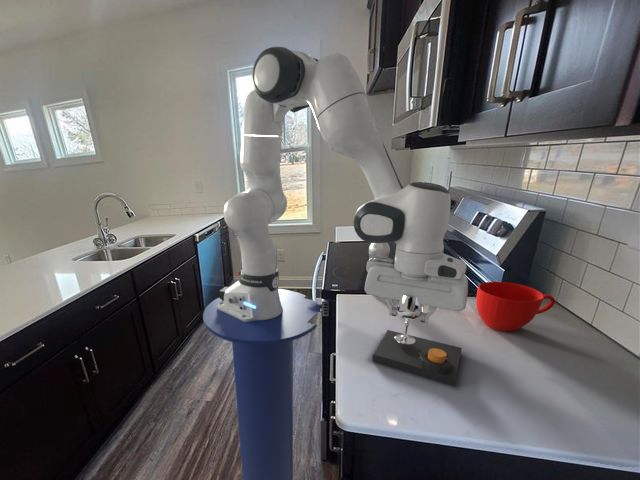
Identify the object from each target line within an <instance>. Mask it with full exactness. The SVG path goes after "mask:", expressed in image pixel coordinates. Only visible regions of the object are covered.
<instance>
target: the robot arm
mask: <svg viewBox="0 0 640 480" xmlns="http://www.w3.org/2000/svg"><path fill="white" fill-rule="evenodd" d="M251 83H252V87H253V90H251V91H250V92H249V93H248V95H247V96H246V98H245V102H244V106H243V113H242V119H241V129H240V131H241V132H240V158H239V159H240V160H239V165H240V168H241V170H242V172H244V174H245V177H246V182H247V188H248V189H247V190H245V191H241V192H238V193H236V194H235V195H233V196H232V197H230V198H228V199H227V201H226V202H225V204H224V206H223V212H222V213H223V219H224V222H225V224H226V225H227V227H229V229H230V230H232V231H233V232H234V234H235V236H236V239H237V241H238V244H239V250H240V256H241V257H240V258H241V269H240V270H239V271H238V272H235V277H238V276H239V277H238V280H237V281H235V282H234V283H232V284H231V285H230V286H224V287H223V288H221V289H219V290H218V295H219V297H220V299H222V301H221V302H220V303H219V304H218V309H219V310H221V311H223V312H225V313H227V314H229V315H231V316H233V317H235V318H237V319H240V320H242V321H244V322H250V321H254V320H267V319H272V318H275V317H277V316H279V315H280V314H281V313H282V311H283V308H282V305H281V302H280V297H279V291H278V289H279V283H280V279H279V278H280V275H279V274H280V273H279V268H278V247H277V244H276V243H275V242H274V241H273V239H272V237H271V233H270V230H269V225H270V224H272V223H275V222H276V221H278V220H279V219H280V218H281V217H282V216H283V215H284V214H285V212H286V210H287V208H288V200H287V197H286V194H285V193H284V189H283V185H282V178H281V158H282V157H281V155H282V142H283V126H284V120H285V117H286V115H287V113H289V111H290V112H292V113H297V112H300V111H302V110H305V109H307V108H311V110H312V113H313V116H314V118H315V121H316V124H317V127H318V130H319V133H320V135H321V137H322V139H323V141H324V142H325V143H326V146H328V148H329V149H331V151H334V152H336V153H338V154H341V155H342V156H344V157H347V158H348V159H350V160H352V161H353V162H355V163H356V164H357V165H358V166H359V167H360V169H361V171H362V172H363V174H364V177H365V179H366V181H367V183H368V186H369V187H370V190H371V192H372V194H373V197H374V199H372V200H369V201H367V202H365V203H364V204H362V205H360V206H359V207H358V209H357V210H356V212H355V214H354V216H353V228H354V232H355V233H356V235H357V236H358V237H359V238H360V240H361V241H363V242H366V243H369V244H372V243H388V244H389V243H394V244H395V245H396V246H395V247H396V248H395V255H394V257H388V258H382V257H374V258H371V259H368V260H367V261H366V267H365V269H366V272H367V275H366V278H365V283H364V292H365V293H366V295H370V296H374V297H380V298H385V303H386V305H387V308H388V309H389V314H388V316H392V317H397V316H398V314H397V312H396V309H395V304H394V300H395V301H396V300H399V299H400V298H401V296H402V295H405V296H409V297H417V299H418V302H419V304H421V305H424V306H426V307H428V308H427V310H428V311H427V312H423V313H422V315H421V316H420V319H419V322H420V323H423V324H428V323H429V320H430V317H431V316H432V315H433V314H434V313H435V312H436V311H437V309H443V310H447V311H454V312H458V313H459V312H462V311H464V310H465V309H466V307H467V303H468V302H467V301H468V296H469V280H468V277H467V276H466V275H465V274H466V272H467V263H466V262H465V261H464V260H461V259H459V258H457V257H454V256H451V255H449V254H446V253H444V250H445V245H444V237H445V235H446V233H447V231H448V229H449V222H450V215H451V200H452V199H451V193H450V190H448V188H446V187H445V186H443V185H440V184H437V183H434V182H433V183H432V182H426V181H425V182H422V181H414V182H410V183H408V184H407V185H406V186H405V187H404V186H403V185H402V182H401V181H400V179H399V176H398V173H397V171H396V168H395V167H394V164H393V162H392V160H391V157H390V155H389V153H388V151H387V147H386V146H385V144H384V142H383V139H382V137H381V134H380V131H379V130H378V127H377V123H376V121H375V117H374V115H373V112H372V109H371V105H370V103H369V99H368V97H367V93H366V91H365V89H364V86H363V83H362V81H361V79H360V77H359V75H358V73H357V71H356V70H355V67H354V65H352V63H351V62H350V59H349V58H348V57H347V56H346V55H344V54H343V53H339V52H334V53H329V54H326V55H324V56H323V57H321V58H320V59H317V58H315V57H312V56H310V55H309V54H307V53H306V52H302V51H299V50H293V49H289V48H287V47H283V46H272V47H268V48H265V49H264V50H263V51H261V52H260V54H259V55H258V56H257V57H256V60H255V61H254V64H253V67H252V72H251Z"/></svg>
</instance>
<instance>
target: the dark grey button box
mask: <svg viewBox="0 0 640 480" xmlns="http://www.w3.org/2000/svg"><path fill="white" fill-rule="evenodd" d="M398 334H404V333H403V332H399V331H394V330H391V329H387V330H386V332H385V333H384V335H383V337H382V338H381V340H380V342H379V343H378V344H377V346H376V348H375V349H374V351H373V353H372V358H371V361H372V362H375V363H377V364H380V365H384V366H387V367H391V368H393V369H398V370H400V371H404V372H408V373H410V374H412V375H417V376H420V377H423V378H427V379H430V380H433V381H437V382H438V383H439V382H440V383H442V384H446V385H449V386H452V387H455V385H456V381H457V376H458V370H459V365H460V359H461V354H462V350H463V348H462V347H460V346H457V345H456V346H455V345H451V344H447V343H443V342H440V341H435V340H431V339H428V338H422V337H420V336H419V337H418V336H415V335H411V334H408V335H409V336H411V337H413V338H414V339H415V343H413V344H402V343H400V342H398V341H396V340H395V336H396V335H398ZM432 348H436V349H440V350H443V351H444V352H445V353H446V354H447V355H446V360H445V363H443V364H441V363H435V362H432V361H430V360H428V352H429V350H430V349H432Z"/></svg>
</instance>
